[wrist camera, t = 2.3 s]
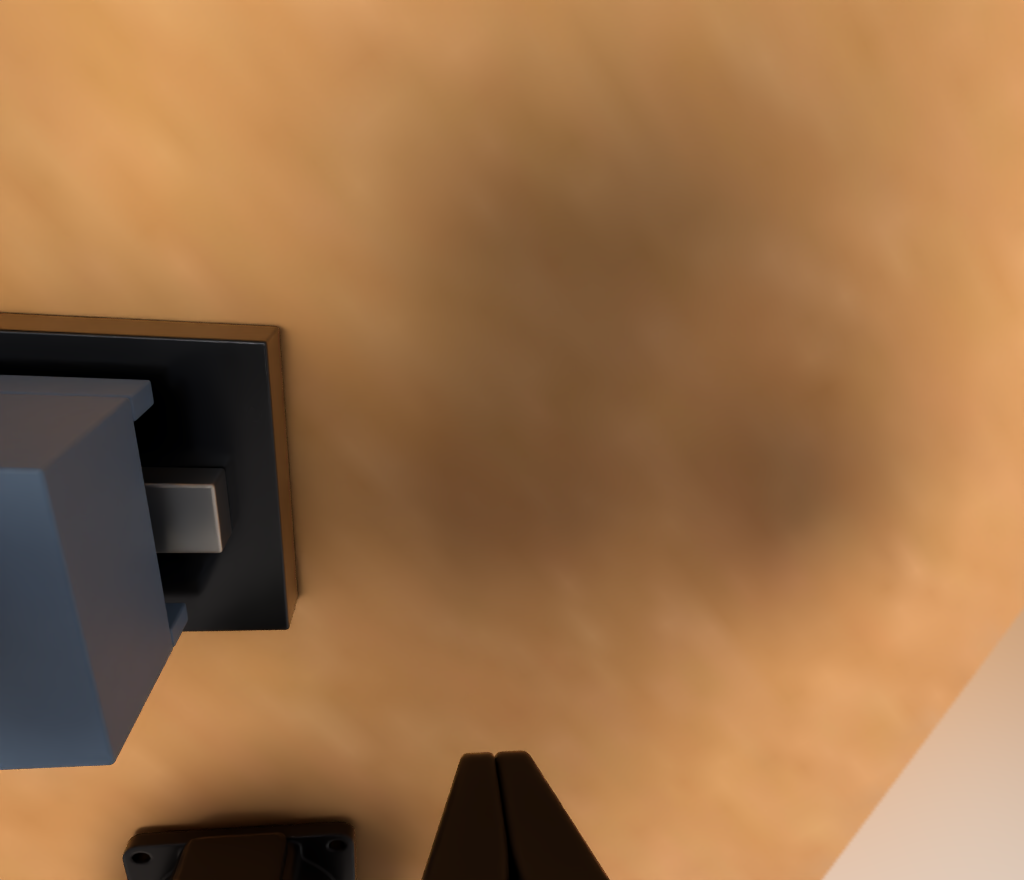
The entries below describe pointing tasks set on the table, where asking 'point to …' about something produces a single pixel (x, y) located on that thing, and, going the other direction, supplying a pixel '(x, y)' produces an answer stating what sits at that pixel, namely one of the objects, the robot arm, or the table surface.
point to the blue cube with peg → (76, 572)
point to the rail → (194, 452)
